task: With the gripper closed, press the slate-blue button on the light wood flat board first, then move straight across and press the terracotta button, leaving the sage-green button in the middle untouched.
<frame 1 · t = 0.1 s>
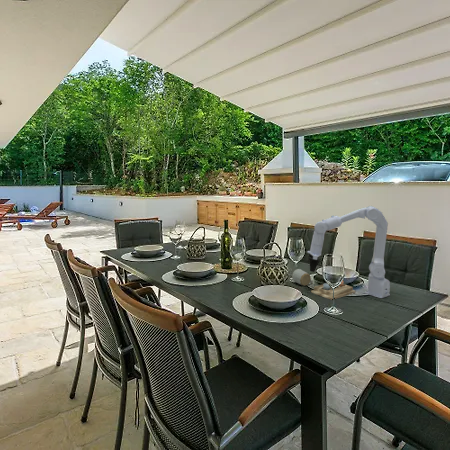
hand: (312, 269, 173), 10 cm above the table, tool pointing down, fingers open, 7 cm apart
slate button: (326, 286, 165), point 4 cm above the table, slide at 0.0 cm
grey canister: (303, 284, 183), on the table
light wood flat board: (333, 292, 168), on the table
sage button: (333, 284, 168), point 4 cm above the table, slide at 0.0 cm
terracotta button: (340, 283, 170), point 4 cm above the table, slide at 0.0 cm
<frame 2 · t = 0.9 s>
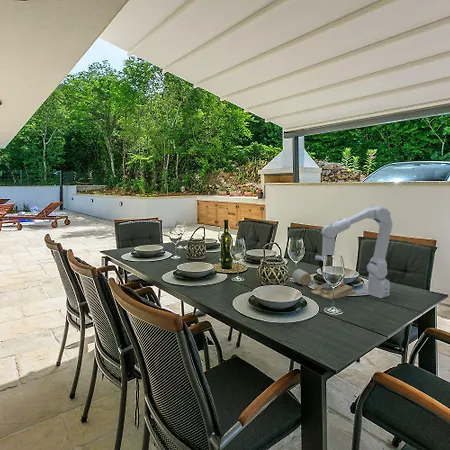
hand: (327, 276, 164), 9 cm above the table, tool pointing down, fingers open, 4 cm apart
nothing on the table moved.
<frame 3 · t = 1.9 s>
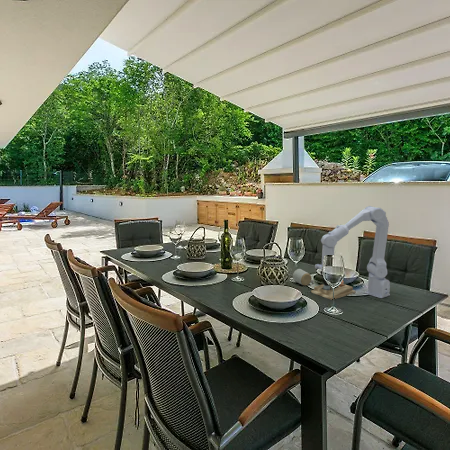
hand: (326, 285, 165), 5 cm above the table, tool pointing down, fingers closed, pressing on slate button
slate button: (326, 287, 165), point 4 cm above the table, slide at -0.5 cm, touching gripper
everything else where it was.
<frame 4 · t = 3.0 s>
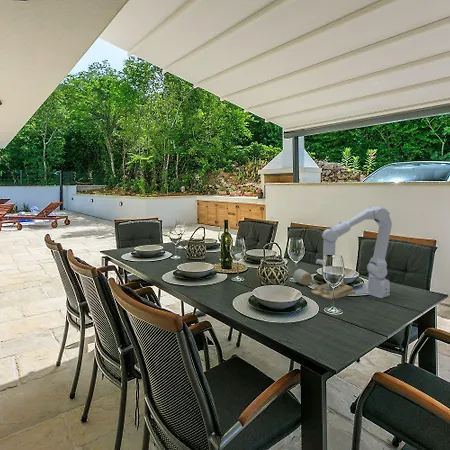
hand: (328, 280, 165), 7 cm above the table, tool pointing down, fingers closed
slate button: (326, 289, 165), point 3 cm above the table, slide at -1.3 cm
everything else where it was.
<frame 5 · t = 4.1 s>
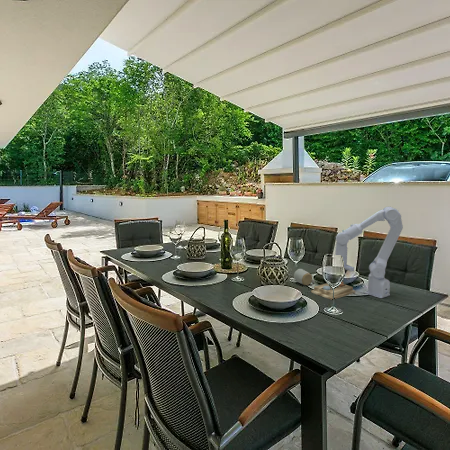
hand: (339, 281, 170), 5 cm above the table, tool pointing down, fingers closed, pressing on terracotta button
terracotta button: (339, 284, 170), point 4 cm above the table, slide at -0.5 cm, touching gripper
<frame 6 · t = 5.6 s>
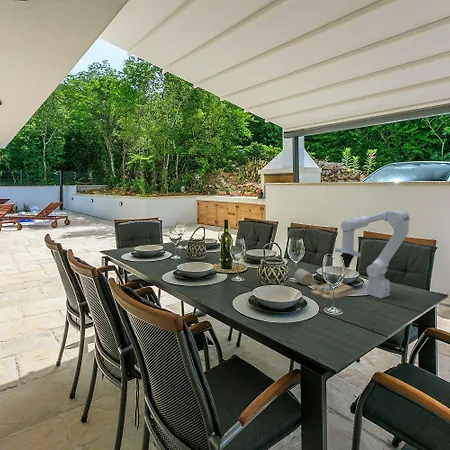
hand: (346, 267, 176), 10 cm above the table, tool pointing down, fingers closed
terracotta button: (339, 285, 170), point 3 cm above the table, slide at -1.3 cm
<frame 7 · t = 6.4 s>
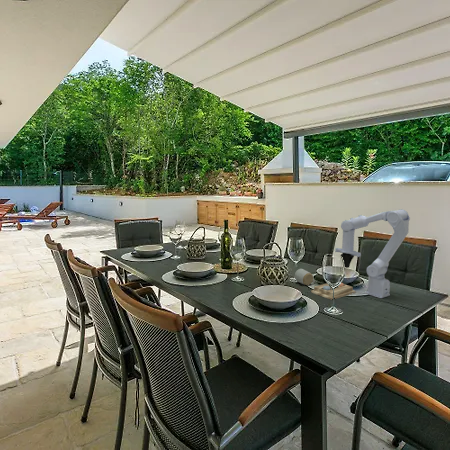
hand: (346, 267, 177), 10 cm above the table, tool pointing down, fingers closed
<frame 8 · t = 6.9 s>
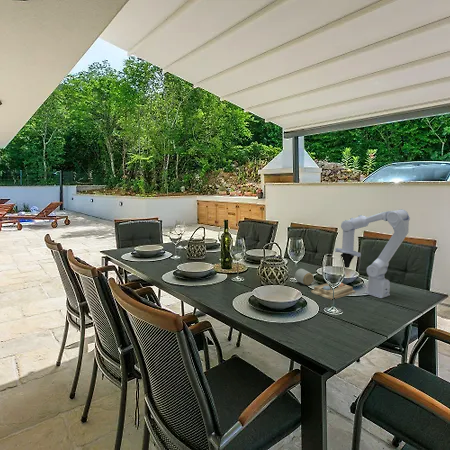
hand: (346, 267, 177), 10 cm above the table, tool pointing down, fingers closed
at the end: slate button slide at -1.3 cm; terracotta button slide at -1.3 cm; sage button slide at 0.0 cm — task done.
